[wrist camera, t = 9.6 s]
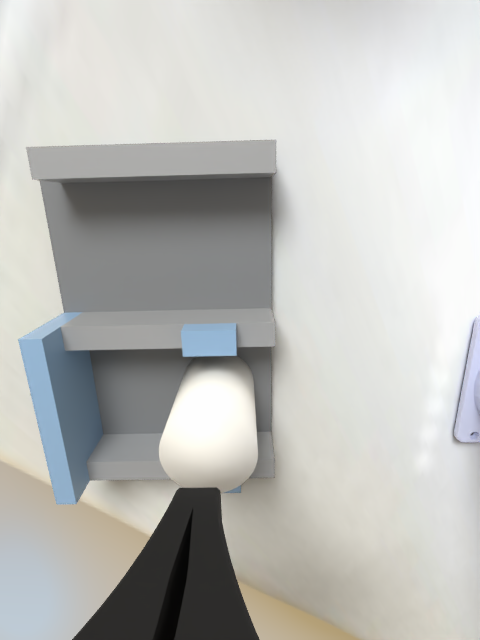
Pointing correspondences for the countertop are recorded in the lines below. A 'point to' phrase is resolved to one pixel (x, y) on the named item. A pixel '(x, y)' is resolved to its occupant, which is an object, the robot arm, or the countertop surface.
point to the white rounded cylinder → (212, 426)
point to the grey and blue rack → (147, 297)
